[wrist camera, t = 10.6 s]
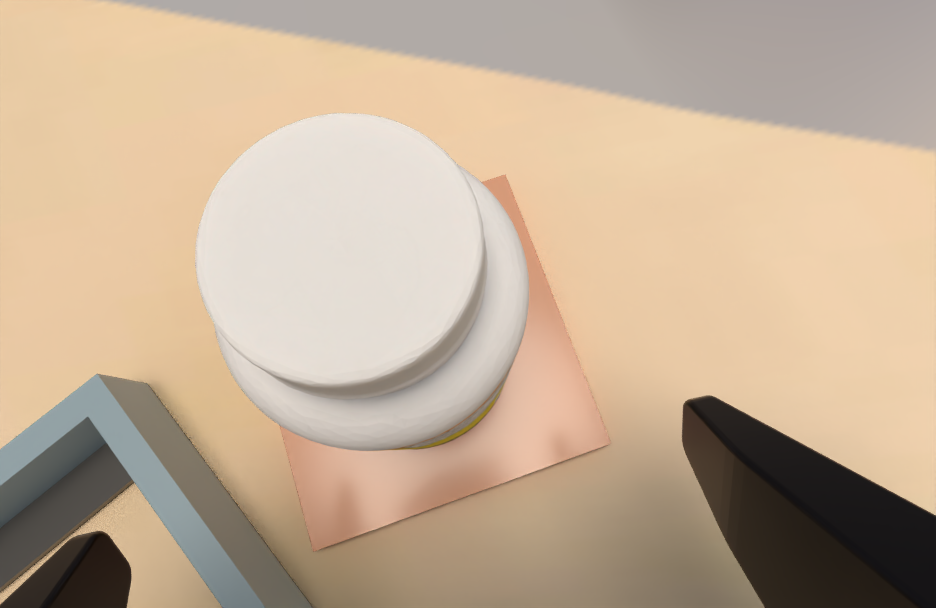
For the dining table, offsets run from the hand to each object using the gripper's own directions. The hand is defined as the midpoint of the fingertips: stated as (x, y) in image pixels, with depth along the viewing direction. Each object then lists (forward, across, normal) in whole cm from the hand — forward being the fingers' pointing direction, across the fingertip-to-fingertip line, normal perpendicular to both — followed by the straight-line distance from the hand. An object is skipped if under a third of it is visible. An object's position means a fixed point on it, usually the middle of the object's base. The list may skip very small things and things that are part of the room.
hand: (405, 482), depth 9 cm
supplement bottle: (+8, 0, +4) cm, 9 cm away
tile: (+9, 0, +4) cm, 9 cm away
